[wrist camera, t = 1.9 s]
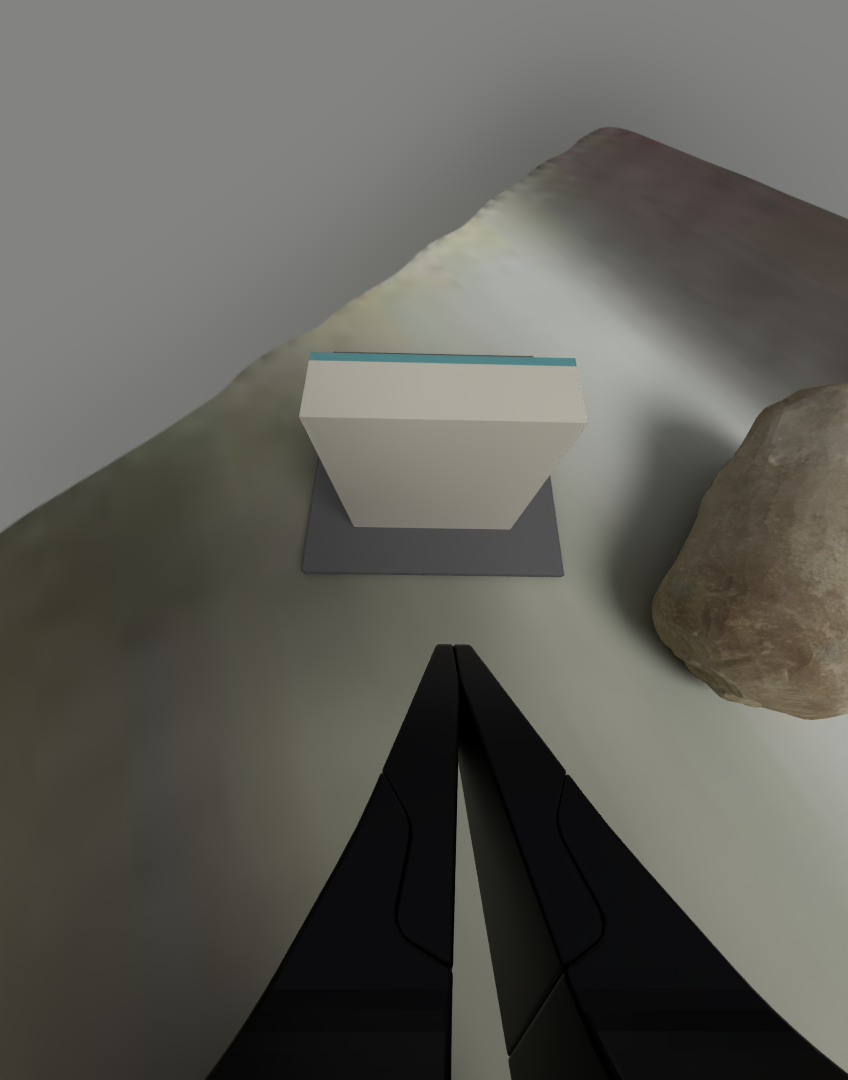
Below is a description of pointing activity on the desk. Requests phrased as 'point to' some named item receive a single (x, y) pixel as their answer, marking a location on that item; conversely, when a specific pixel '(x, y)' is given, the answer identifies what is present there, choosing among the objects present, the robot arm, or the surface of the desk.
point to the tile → (440, 434)
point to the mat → (430, 540)
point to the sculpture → (770, 565)
